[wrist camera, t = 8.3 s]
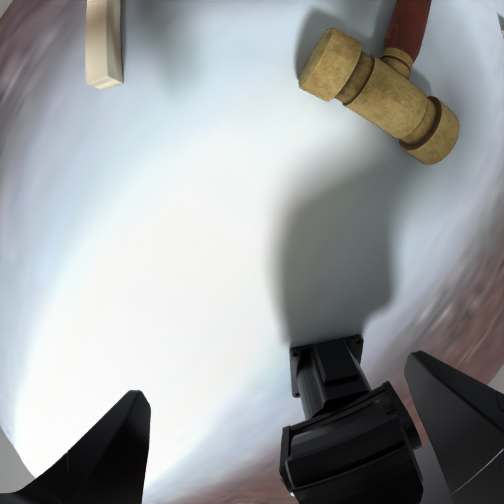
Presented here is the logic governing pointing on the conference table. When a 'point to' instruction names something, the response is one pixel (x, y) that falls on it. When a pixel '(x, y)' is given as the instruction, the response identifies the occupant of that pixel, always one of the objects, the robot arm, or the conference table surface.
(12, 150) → the conference table surface
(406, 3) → the gavel
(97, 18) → the wooden bars
